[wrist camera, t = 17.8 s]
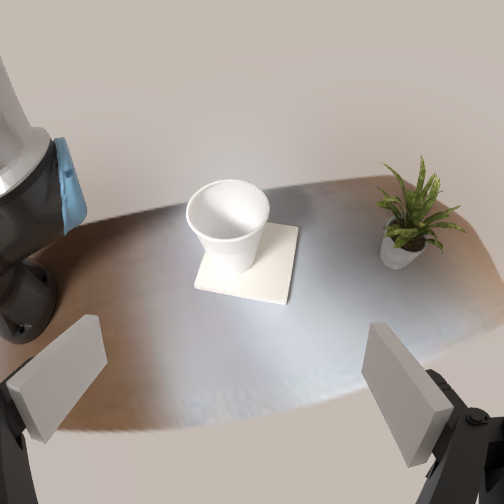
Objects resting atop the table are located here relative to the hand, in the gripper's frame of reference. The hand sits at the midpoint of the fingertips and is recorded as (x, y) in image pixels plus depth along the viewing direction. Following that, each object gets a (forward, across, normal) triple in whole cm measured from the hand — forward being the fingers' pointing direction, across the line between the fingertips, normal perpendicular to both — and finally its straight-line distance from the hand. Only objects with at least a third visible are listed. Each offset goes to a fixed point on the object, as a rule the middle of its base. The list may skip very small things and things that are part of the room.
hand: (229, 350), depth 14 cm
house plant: (+34, +23, -2) cm, 41 cm away
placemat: (+33, 0, -3) cm, 33 cm away
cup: (+32, -2, -3) cm, 32 cm away
